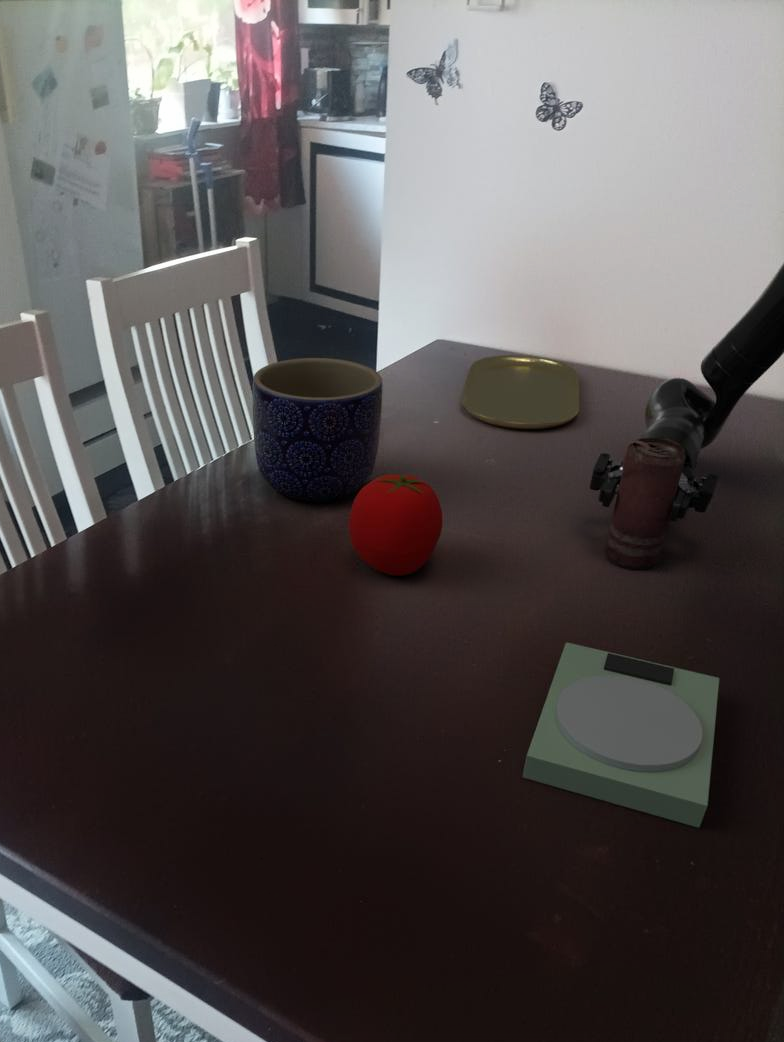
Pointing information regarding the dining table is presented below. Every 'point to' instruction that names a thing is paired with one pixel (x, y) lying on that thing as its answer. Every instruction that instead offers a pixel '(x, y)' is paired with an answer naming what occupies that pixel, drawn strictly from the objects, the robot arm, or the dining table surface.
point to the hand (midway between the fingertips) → (640, 506)
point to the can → (644, 502)
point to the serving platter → (521, 392)
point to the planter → (316, 426)
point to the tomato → (395, 523)
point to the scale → (627, 734)
